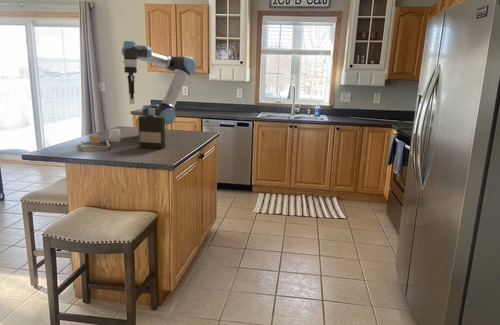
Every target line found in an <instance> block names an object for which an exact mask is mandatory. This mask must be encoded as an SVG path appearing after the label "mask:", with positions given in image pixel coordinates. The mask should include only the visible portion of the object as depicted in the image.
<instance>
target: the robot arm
mask: <svg viewBox="0 0 500 325" xmlns="http://www.w3.org/2000/svg"><path fill="white" fill-rule="evenodd" d="M122 46H123V47H122V48H121V54H122V56H123V63H124V64H123V65H124V67H123V68H124V69H123V70H124V73H125V74H126V73H127V75H126V76H127V83H128V94H129V95H128V96H129V104H131V105H135V75H134V74H137V73H138V70H137V69H138V68H137V66H138V64H137V62H138V61H142V62H146V63H149V64H152V65H156V66H159V67H162V69H164V70H165V69H166V70H168V71H170V72H174V75H173V76H172V80H171V82H170V84H169V87H168V89H167V92H166V93H165V96H164V99H163V101H160V102H159V104H148V105H147V104H145V105H142V111H141V112H142V115H145V116H148V108H154V109H155V115H156V116H164V117H165V125H170V124H172V123H173V122H175V119H176V108H175V105H176V104H177V100H178V98H179V96H180V94H181V91H182V89H183V87H184V84H185V82H186V80H187V79H189V78H190V75H191V74H193V73H195V72H196V69H197V64H196V61H195V59H194V58H193V57H192V56H173V55H172V56H170V55H161V54H158V53H155V52H153V50H152V48H151V46H147V45H137V44H136V41H133V40H132V41H131V40H126V41H125V40H124V41H123V45H122ZM137 60H138V61H137Z"/></svg>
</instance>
